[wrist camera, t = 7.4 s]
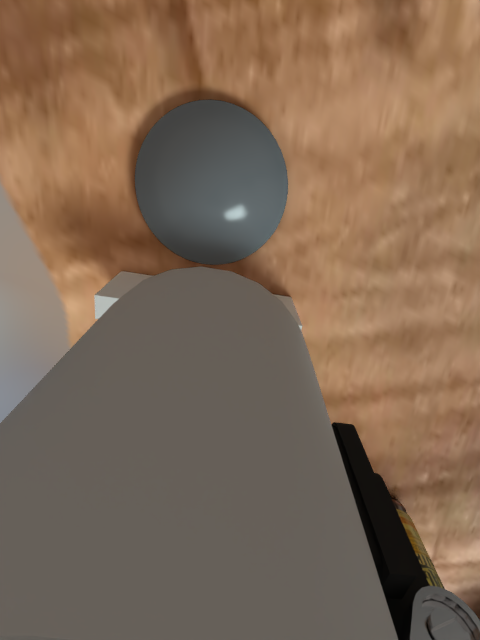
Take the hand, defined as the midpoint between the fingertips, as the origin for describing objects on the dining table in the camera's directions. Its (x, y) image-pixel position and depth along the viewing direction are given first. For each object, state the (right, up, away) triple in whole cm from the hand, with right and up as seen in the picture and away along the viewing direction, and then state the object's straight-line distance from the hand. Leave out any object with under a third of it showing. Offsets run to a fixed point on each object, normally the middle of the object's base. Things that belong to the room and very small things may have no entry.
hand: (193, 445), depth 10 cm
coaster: (0, +13, +12) cm, 17 cm away
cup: (+1, +1, +3) cm, 3 cm away
